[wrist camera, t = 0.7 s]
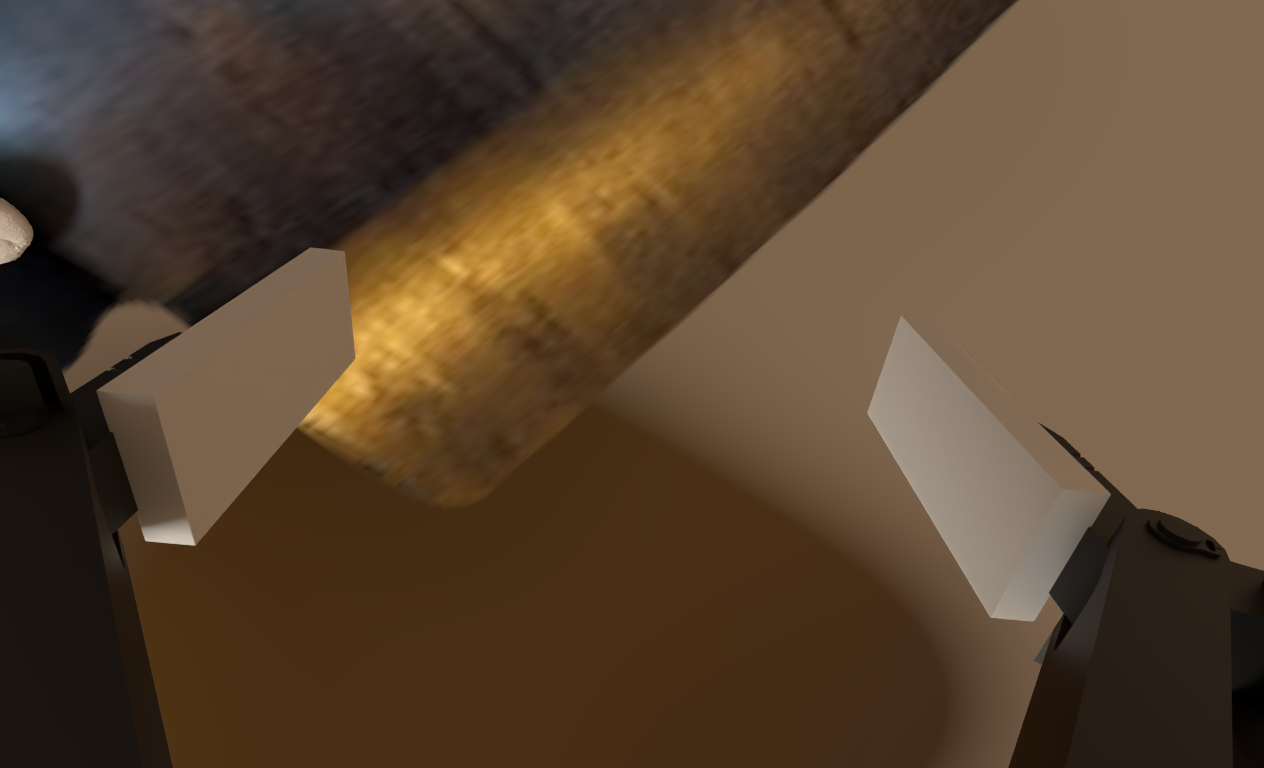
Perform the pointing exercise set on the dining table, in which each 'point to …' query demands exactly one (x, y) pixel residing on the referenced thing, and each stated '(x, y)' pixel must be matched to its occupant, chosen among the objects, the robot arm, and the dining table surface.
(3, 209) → the dumpling
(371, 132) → the dining table surface
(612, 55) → the dining table surface
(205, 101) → the dining table surface
